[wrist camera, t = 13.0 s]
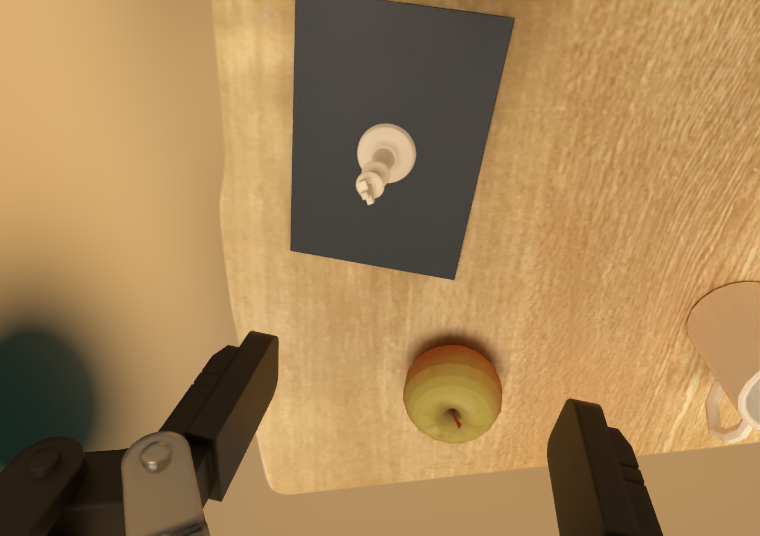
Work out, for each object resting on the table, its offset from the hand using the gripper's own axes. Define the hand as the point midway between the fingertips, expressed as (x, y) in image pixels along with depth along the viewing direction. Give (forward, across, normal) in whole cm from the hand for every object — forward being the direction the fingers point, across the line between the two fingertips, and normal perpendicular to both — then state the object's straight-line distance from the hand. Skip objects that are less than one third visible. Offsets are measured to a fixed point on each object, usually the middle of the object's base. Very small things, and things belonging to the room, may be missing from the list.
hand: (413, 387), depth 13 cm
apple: (+29, -5, +25) cm, 39 cm away
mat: (+29, +5, +3) cm, 30 cm away
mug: (+30, -28, +14) cm, 43 cm away
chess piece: (+29, +5, +3) cm, 30 cm away
